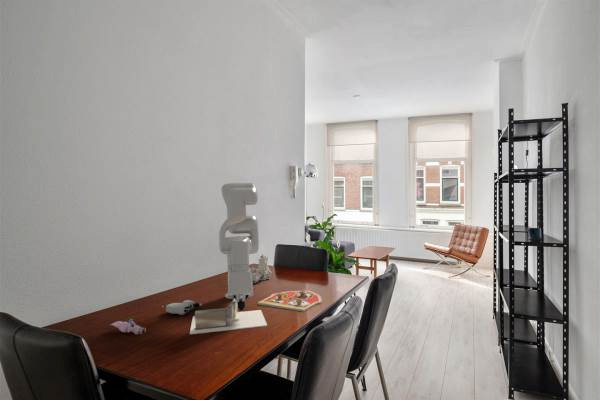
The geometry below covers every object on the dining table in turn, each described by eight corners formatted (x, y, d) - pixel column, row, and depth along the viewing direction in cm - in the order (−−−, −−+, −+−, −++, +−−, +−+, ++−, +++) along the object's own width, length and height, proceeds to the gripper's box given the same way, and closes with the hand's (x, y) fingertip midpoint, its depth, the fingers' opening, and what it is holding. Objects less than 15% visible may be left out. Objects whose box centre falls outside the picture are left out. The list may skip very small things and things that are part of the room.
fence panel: (231, 323, 145) (231, 307, 145) (228, 323, 145) (227, 307, 145) (237, 313, 157) (237, 298, 156) (234, 313, 157) (234, 298, 157)
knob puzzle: (254, 305, 172) (254, 296, 172) (285, 290, 198) (285, 282, 198) (308, 313, 158) (308, 303, 158) (333, 296, 185) (333, 287, 184)
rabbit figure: (148, 334, 141) (117, 325, 144) (150, 319, 141) (118, 311, 144) (137, 340, 135) (105, 331, 138) (139, 325, 134) (106, 316, 138)
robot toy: (183, 307, 173) (160, 315, 159) (183, 298, 173) (160, 304, 159) (204, 310, 168) (182, 318, 154) (204, 300, 168) (182, 307, 154)
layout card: (192, 317, 155) (192, 316, 155) (261, 310, 162) (260, 309, 162) (189, 334, 136) (189, 333, 136) (267, 326, 143) (267, 324, 143)
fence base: (195, 328, 141) (195, 310, 141) (231, 325, 144) (231, 306, 144) (195, 331, 139) (195, 311, 139) (232, 327, 142) (231, 308, 142)
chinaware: (243, 278, 237) (240, 253, 236) (267, 273, 242) (264, 249, 241) (250, 288, 210) (247, 260, 209) (277, 282, 215) (274, 255, 214)
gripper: (221, 269, 148) (222, 313, 148) (257, 268, 149) (258, 312, 149) (224, 266, 156) (225, 308, 156) (258, 265, 157) (259, 306, 157)
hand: (241, 310), depth 152 cm, fingers closed
